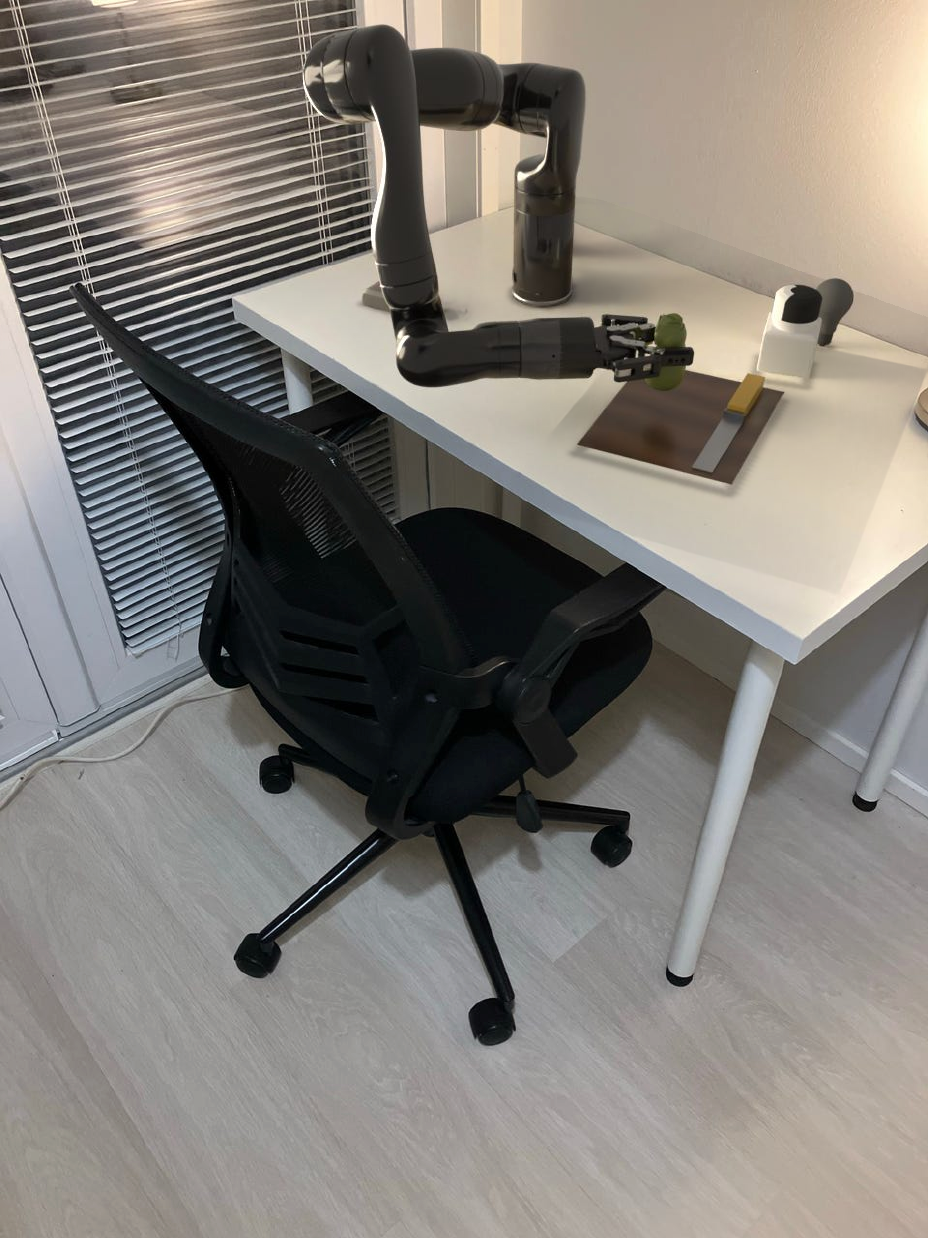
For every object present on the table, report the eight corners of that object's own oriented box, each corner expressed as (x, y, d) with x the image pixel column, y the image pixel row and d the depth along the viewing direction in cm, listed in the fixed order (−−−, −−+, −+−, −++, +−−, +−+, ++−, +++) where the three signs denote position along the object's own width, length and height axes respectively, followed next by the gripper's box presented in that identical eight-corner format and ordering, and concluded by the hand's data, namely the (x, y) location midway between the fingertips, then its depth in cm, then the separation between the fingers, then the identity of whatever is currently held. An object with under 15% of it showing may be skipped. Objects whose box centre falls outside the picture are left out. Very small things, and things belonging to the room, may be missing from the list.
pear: (678, 401, 134) (689, 328, 127) (637, 394, 135) (646, 322, 129) (685, 380, 138) (696, 309, 131) (645, 374, 139) (654, 303, 133)
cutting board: (642, 369, 149) (643, 360, 148) (782, 401, 142) (784, 391, 141) (576, 454, 133) (576, 444, 132) (729, 494, 126) (731, 484, 125)
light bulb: (801, 335, 156) (815, 270, 149) (840, 338, 155) (856, 272, 148) (803, 352, 152) (817, 287, 145) (842, 356, 151) (859, 289, 144)
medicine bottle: (812, 363, 149) (830, 282, 141) (807, 387, 144) (825, 305, 136) (761, 356, 151) (776, 276, 143) (754, 380, 146) (769, 298, 138)
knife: (744, 384, 143) (746, 372, 141) (764, 389, 142) (766, 377, 140) (690, 468, 128) (692, 456, 127) (712, 474, 127) (714, 461, 126)
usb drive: (381, 291, 170) (380, 275, 168) (444, 308, 165) (443, 291, 163) (362, 304, 166) (360, 287, 164) (425, 321, 162) (425, 304, 160)
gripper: (562, 348, 124) (704, 344, 125) (550, 295, 135) (681, 292, 135) (559, 404, 129) (696, 400, 130) (547, 348, 140) (674, 345, 140)
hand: (687, 345), depth 133 cm, fingers closed on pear, 5 cm apart
